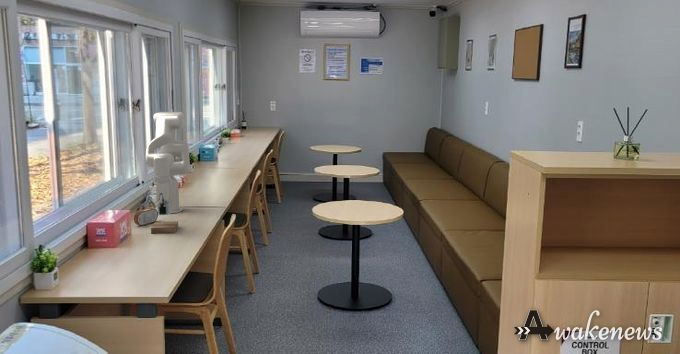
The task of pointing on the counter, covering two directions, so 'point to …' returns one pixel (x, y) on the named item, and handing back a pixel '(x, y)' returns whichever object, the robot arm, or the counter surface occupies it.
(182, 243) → the counter surface
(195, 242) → the counter surface
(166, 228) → the base
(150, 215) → the wooden speaker
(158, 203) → the block
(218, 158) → the counter surface
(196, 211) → the counter surface
